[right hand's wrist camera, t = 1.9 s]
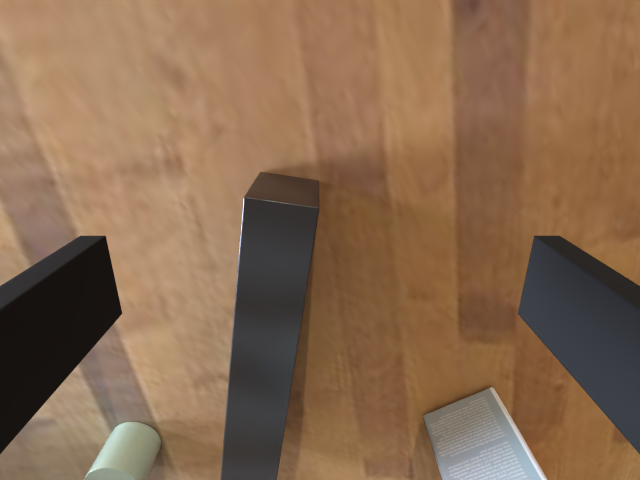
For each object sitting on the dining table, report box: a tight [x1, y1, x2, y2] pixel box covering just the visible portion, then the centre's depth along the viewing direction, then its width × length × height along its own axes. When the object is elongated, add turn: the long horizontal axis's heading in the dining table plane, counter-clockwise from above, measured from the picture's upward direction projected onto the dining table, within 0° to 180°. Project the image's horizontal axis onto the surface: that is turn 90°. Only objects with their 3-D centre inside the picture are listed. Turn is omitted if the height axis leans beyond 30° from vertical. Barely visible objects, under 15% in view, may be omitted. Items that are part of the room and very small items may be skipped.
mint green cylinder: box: [84, 422, 161, 480], centre depth 37 cm, size 5×5×5 cm
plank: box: [221, 172, 319, 480], centre depth 31 cm, size 26×4×7 cm, turn 171°
